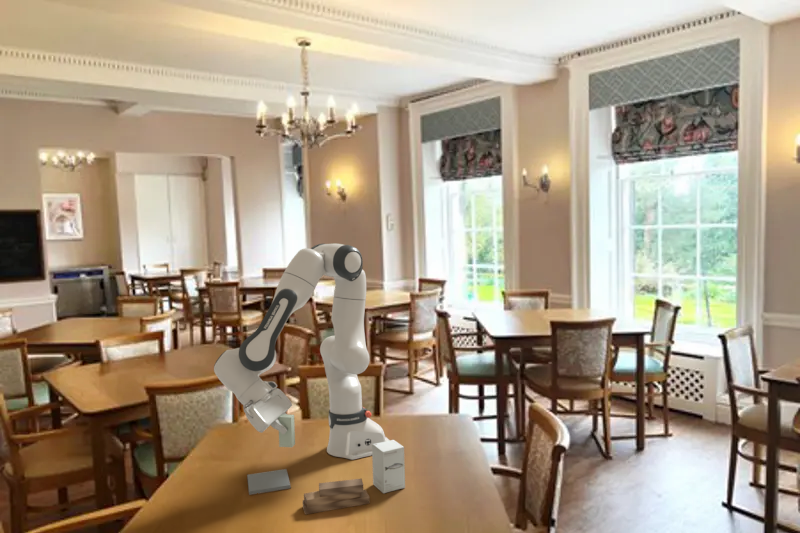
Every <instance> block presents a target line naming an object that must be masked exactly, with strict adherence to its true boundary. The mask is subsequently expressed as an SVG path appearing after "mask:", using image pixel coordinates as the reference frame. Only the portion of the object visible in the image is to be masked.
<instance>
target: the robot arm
mask: <svg viewBox="0 0 800 533" xmlns="http://www.w3.org/2000/svg"><path fill="white" fill-rule="evenodd" d="M363 262H364V261H363V256H362V253H361V252H360V250H359V249H358V248H356V247H355V246H352V245H349V244H342V243H337V242H336V243H318V244H315V245H314V246H312V247H311V248H302V249H300V250H298V252H296V254H295V255H294V257H292V259H291V261H290V262H289V264H288V265H287V267H286V268H285V270H284V272H283V273H282V275H281V277H280V278H279V279H280V280H279V282H278V285H277V287H276V290H275V293H274V296H273V300H272V301H271V305H270V306H269V308H268V310H267V311H266V313H265V315H264V317H263V319H262V321H261V322H260V324H259V326H258V327H257V329H255V331H254V332H253V333H252V334H250V335H249V336H248V337H247V338H246V339H245V340H243V342H242V343H241V344H240V346H239V347H236V348H233V349H226V350H224V351H223V352H222V353H221V354H220V355H219V357H218V358H217V360H215V363H214V365H213V372H214V374H215V376H216V377H217V379H218V380H219V381H220V382H221V384H222V385H224V387H225V388H226V389H227V390H228V391H230V392H232V393H233V394H234V395H235V397H236V399H237V400H238V401H239V402H240V404H241V405H243V412H244V413H245V417H246V419H247V420H248V421H249V423H250V425H251V426H252V427H253V428H254V429H255V430H256V431H257V432H258V433H264V432H265V430H267V429H268V428H269V427H272V428H273V429H275V430H276V431H278V432H279V431H280V432H281V433H282V434H285V433H286V432H287V431H288V428H287V427H286V426H285V425H284V426H283V425H282V424H280V423H279V420H278V417H280V416H281V415H282V414H287V413H286V412H288V411H289V410H290V408H292V406H293V403H292V401H291V400H290V399H289V397H288V396H287V395H286V394H285V392H283V391H282V390H281V389H280V388H277V387H278V384H277V383H276V382H275V381H267V380H262V378H261V377H260V375H262V374H264V373H265V372H267V371H269V370H271V369H272V368H273V366H274V365H275V363H276V361H277V351H276V342H277V340H278V337H279V336H280V334H281V332H282V331H283V329H284V327H285V324H286V323H287V321H288V320H289V318H290V317H291V315H292V314H293V313H294V312H295V311H297V310H299V309H301V308H303V307H304V306H305V305H306V304H307V302H308V301H309V300H310V298H311V297H312V296H313V293H314V292H315V290H316V288H317V286H318V283H319V280H320V279H322V277H323V276H327V277H331V278H333V280H334V284H335V285H334V291H333V299H332V310H331V323H332V327H333V333H334V335H331V336H327V337H325V339H324V340H323V341H322V342H321V344H320V348H319V352H320V355H321V356H320V357H322V361H323V366H324V372H325V375H326V379H327V386H328V393H329V394H328V396H329V409H328V426H329V438H328V444H327V447H326V452H327V453H328V455H331V456H333V457H338V458H345V459H347V460H356V459H357V460H358V459H360V458H361V459H362V458H365V457H369V456H370V457H371V456H372V444H376V443H381V442H385V441H390V439H389V438H388V437H387V436H386V435H385V432H384V429H383V427H382V426H381V425H380V424H378V423H377V422H376V421H374V420H373V419H371V418H372V416H373V414H372V412H371V411H370V410H368V409H367V408H366V407H364V406H363V400H362V399H363V397H362V385H361V382H360V380H359V378H358V375H359V374H362V373H364V372H365V371H366V370H367V368H368V366H369V364H370V360H371V359H370V357H371V356H370V353H369V351H368V347H367V344H366V334H365V310H366V299H367V277H366V276H367V275H366V271H365V270H364V269H363V267H364V266H363Z"/></svg>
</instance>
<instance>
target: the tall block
mask: <svg viewBox="0 0 800 533" xmlns="http://www.w3.org/2000/svg"><path fill="white" fill-rule="evenodd" d="M278 420H279V423H280V424H282V425H283V426H284V425H285V426H286V427H287V428H288V431H287V432H286V433H285V434H282V433H281V432H280V431H278V447H279V448H281V447H282V448H293V447H294V446H295V445H296V432H295V430H296V429H295V428H296V427H295V425H296V424H295V414H287V413H286V414H282V415H281V416H280V417H278Z"/></svg>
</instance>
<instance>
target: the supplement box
mask: <svg viewBox="0 0 800 533" xmlns="http://www.w3.org/2000/svg"><path fill="white" fill-rule="evenodd" d="M389 440H390V439H389ZM371 456H372V458H371V459H372V484H373V485H374V487H375V488H377V490H379V491H380V492H381V493H382V494H386V493H391V492H393V491H398V490H400V489H405V488H406V474H405V473H406V472H405V471H406V469H405V468H406V467H405V447H404V446H403V445H402V444H401V443H399V442H398V441H396V440H395V439H391V440H390V441H385V442H381V443H376V444H372V455H371Z"/></svg>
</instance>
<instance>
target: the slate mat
mask: <svg viewBox="0 0 800 533" xmlns="http://www.w3.org/2000/svg"><path fill="white" fill-rule="evenodd" d="M246 476H247V485H248V495H249V496H250V495H256V494H257V493H258V494H264V493H270V492H275V491H282V490H288V489H291V482H290V478H289V474H288V470H287V468H285V469H284V468H283V469H277V470H271V471H263V472H258V473H250V474H247V475H246Z"/></svg>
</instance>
